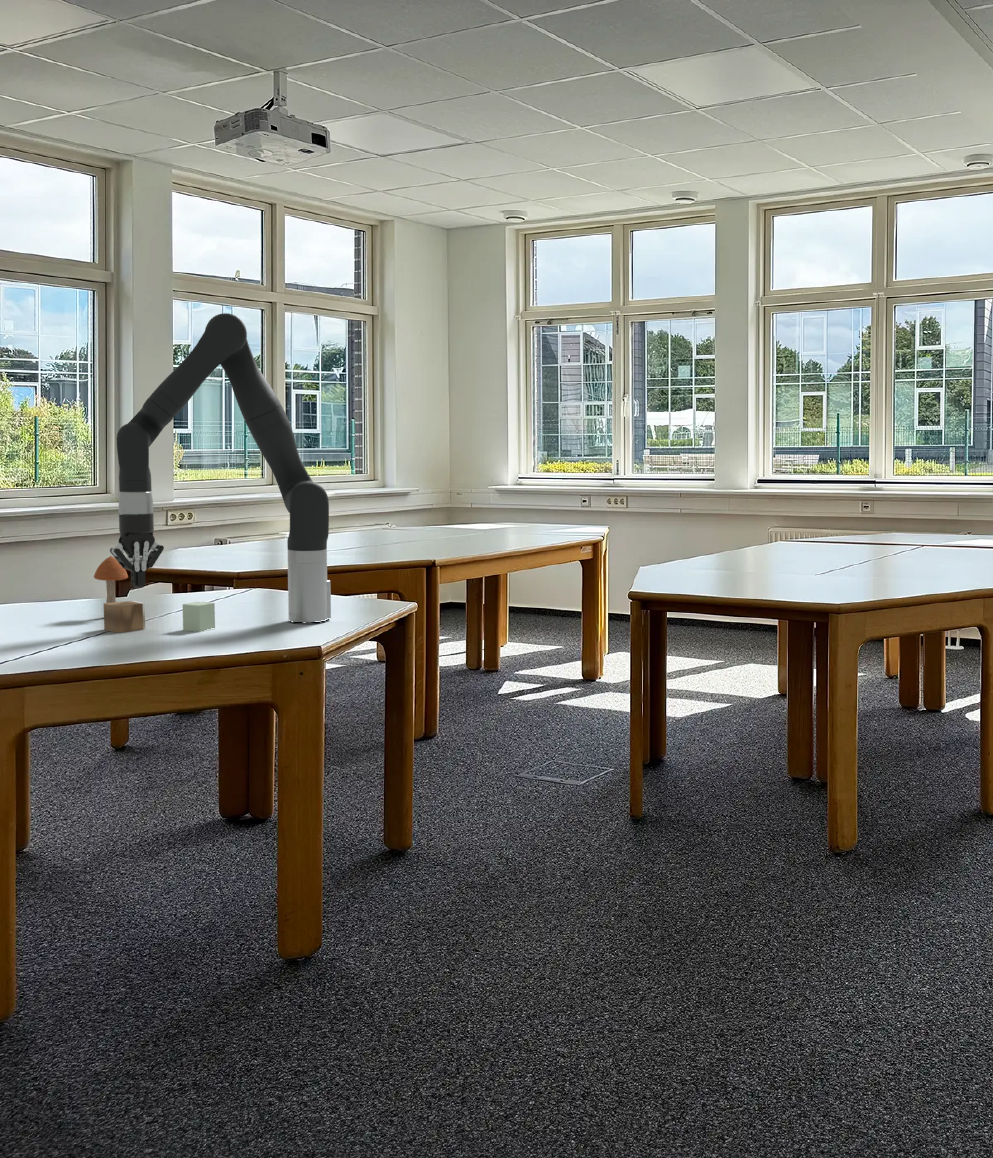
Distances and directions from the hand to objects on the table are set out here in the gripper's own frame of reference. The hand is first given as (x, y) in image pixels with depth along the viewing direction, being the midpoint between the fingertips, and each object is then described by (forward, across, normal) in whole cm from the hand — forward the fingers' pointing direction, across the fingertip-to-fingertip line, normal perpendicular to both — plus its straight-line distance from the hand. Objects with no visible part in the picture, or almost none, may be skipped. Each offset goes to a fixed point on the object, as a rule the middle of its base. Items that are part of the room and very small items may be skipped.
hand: (138, 587), depth 270 cm
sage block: (+9, -8, +12) cm, 17 cm away
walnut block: (+6, 0, 0) cm, 6 cm away
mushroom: (+10, -4, -19) cm, 22 cm away
